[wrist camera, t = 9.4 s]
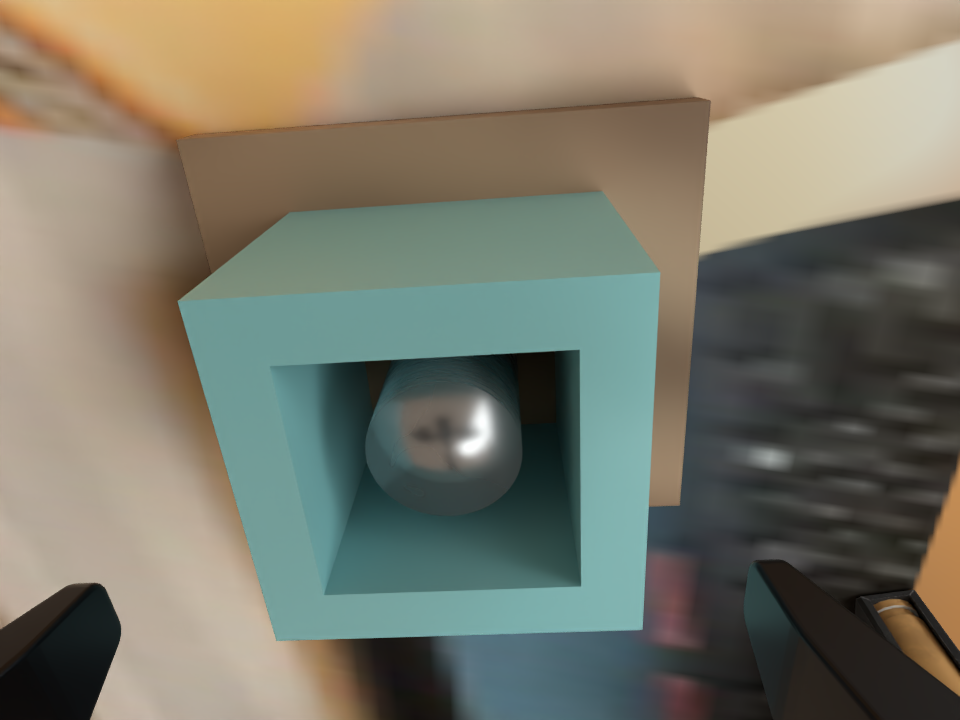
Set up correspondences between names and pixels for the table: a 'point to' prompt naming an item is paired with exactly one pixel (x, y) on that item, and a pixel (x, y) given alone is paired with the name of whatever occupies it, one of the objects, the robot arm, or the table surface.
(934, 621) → the ammunition clip
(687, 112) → the post base
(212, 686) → the table surface
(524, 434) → the collar
